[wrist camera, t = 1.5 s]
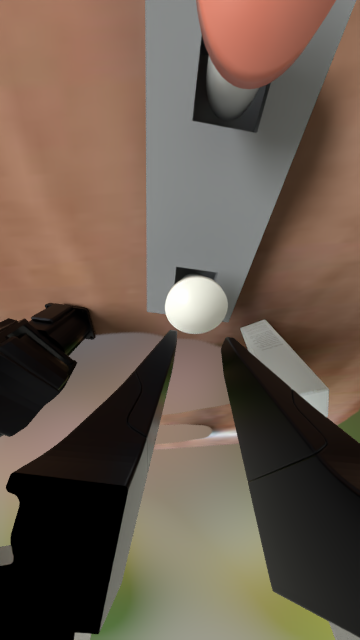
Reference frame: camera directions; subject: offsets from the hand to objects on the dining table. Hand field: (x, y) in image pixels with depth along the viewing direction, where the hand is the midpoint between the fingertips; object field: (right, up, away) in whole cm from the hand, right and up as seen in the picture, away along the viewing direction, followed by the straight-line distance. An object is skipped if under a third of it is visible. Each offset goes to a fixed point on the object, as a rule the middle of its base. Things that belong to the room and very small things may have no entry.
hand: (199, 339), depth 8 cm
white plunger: (0, +5, +7) cm, 9 cm away
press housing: (+1, +12, +7) cm, 15 cm away
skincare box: (+12, -1, +16) cm, 20 cm away
